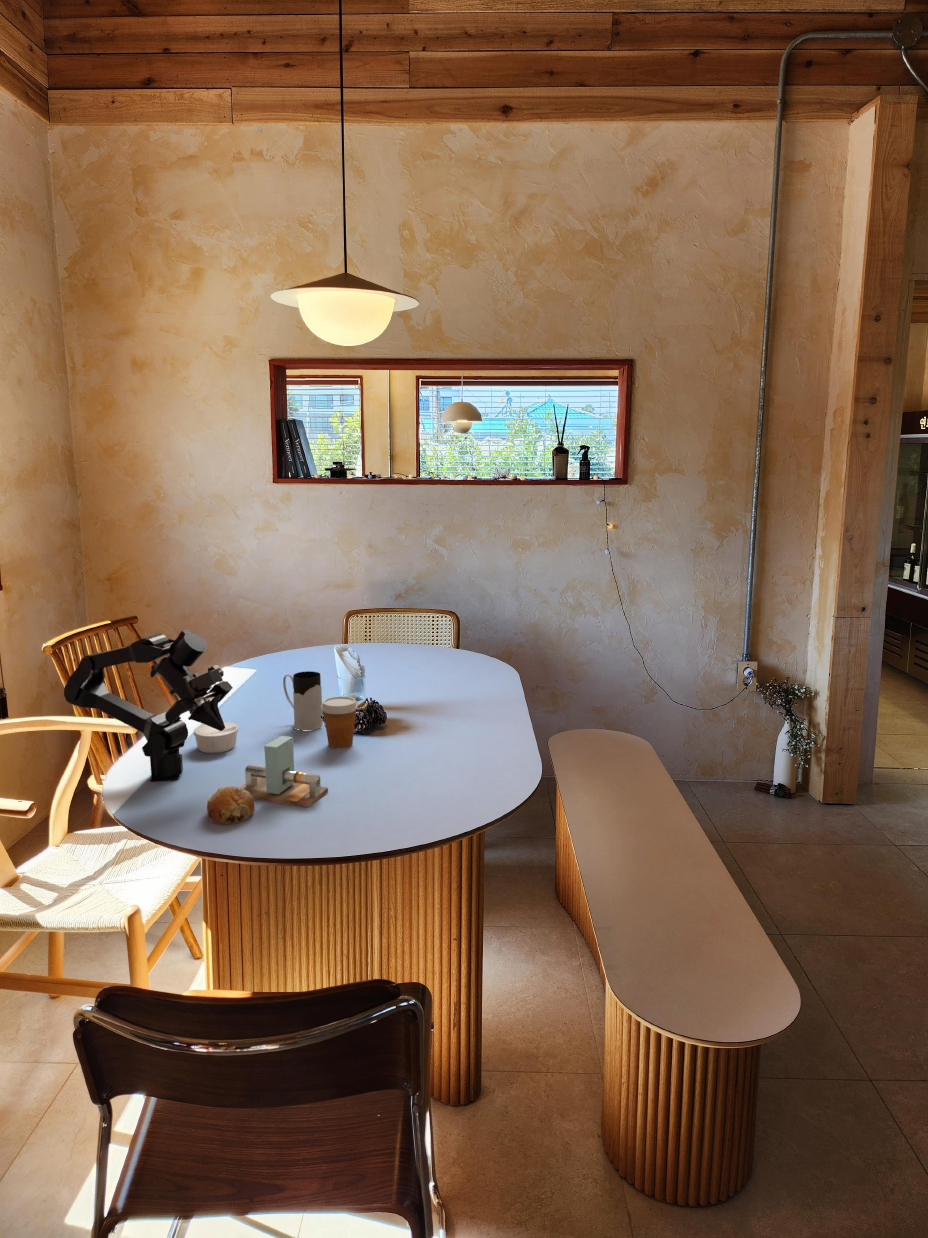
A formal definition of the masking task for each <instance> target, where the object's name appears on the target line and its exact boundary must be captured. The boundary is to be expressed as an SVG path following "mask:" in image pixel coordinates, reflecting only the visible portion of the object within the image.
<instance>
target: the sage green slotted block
mask: <svg viewBox="0 0 928 1238" xmlns="http://www.w3.org/2000/svg"><path fill="white" fill-rule="evenodd" d="M294 754H295V753H294V738H293V736H288V735H287V736H286V735H280V736H279V737H276V738H275V739H274V740H272V741H270V742H269V743H267V744H264V759H265V760H264V763H265V767H266V786H267V793H273V794H280V793H281V792H282V791H284V790H285V789H287V788H288V787H289V786H291V785H292V784H294V782H287V781H283V779H282V772H283V771H284V770H287V771H294V772H295V759H294V756H295V755H294Z"/></svg>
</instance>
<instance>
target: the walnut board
mask: <svg viewBox="0 0 928 1238" xmlns="http://www.w3.org/2000/svg"><path fill="white" fill-rule="evenodd" d="M239 788H242V789H245V790H246V791H248V792H249V793H250V794H251V795H252V797H253V799H254V800H258V801H259V800H261V801H265V802H272V803H278V804H285V805H291V806H296V807H304V808H310V807H311V806H312V805H314V804H315V803H316V802H317V801H318V800H320V799H321V798H322V797H323V796H325V795H326V794H327V793H328V792H329V787H326V786H321V793H320V794H319V795H318V796H317V797H310V794H309V785H307V784H298V783H294V784H292V785H291V786H289V787H288V788H287V789H285V790H284V791H282V792H281V793H280V794H273V793H267V786H266V778H260V777H257V784H256V785H254V786H253V787H246V783H245V784H243V785H241V786H240V787H239Z"/></svg>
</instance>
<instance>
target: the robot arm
mask: <svg viewBox="0 0 928 1238" xmlns="http://www.w3.org/2000/svg"><path fill="white" fill-rule="evenodd" d="M207 649H208V643H207V641H206V640H205V639H204V638H203V637H202V636H200V635H198V634H197V633H193V632H190V630H189V629H188V628H186V629H183V630H181V631H180V632H179V633H178V635H177V637H176V639H173V638H168V637H167V636H166V635H165V634H164V633H156V634H152V635H149V636H145V637H142V638H140V639H137V640H136V641H134V642H132V643H130V644H128V645H126V646H123V647H119V648H114V649H111V650H106V651H101V652H98V651H97V652H93V653H91V654H87V655H85V656H83V657H82V658H81V659H80V660H79V661H80V662H79V663H78V665H77V667H76V669H74V671H73V672H72V673H71V674H70V676H69V678H68V680H67V683H66V684H65V685H64V689H63V696H64V698H65V701H66V702H67V703H68V704H69V705H72V706H76V707H78V708H84V709H85V708H86V709H95V710H98V711H99V712H102V713H104V714H105V715H107V716H110V717H111V718H113V719H115V720H116V721H119V722H121V723H122V724H125V725H126V726H128V727H131V728H132V729H134V730H137V731H138V732H141V733H142V734H143V736H144V737H145V738H144V739H145V740H146V742H145V744H144V745H143V746H142V747H141V750H142V753H143V755H144V756H145V757H148V758H149V761H150V763H149V764H150V775H151V776H150V778H149V782H157V781H159V782H160V781H161V782H162V781H172V780H179V779H180V776H181V775H182V773H183V770H184V767H183V766H184V765H183V763H184V762H183V755H182V754H181V753H180V749H181V748H183V747H184V746H185V743H186V740H187V739H188V736H189V729H188V727H187V724H186V722H185V721H183V720H181V719H182V717H181V715H183V714H185V713H187V712H189V716H188V718H187V719H188V720H189V721H194V722H197V723H201V724H202V725H203V724H205V725H208V726H210V727H212V728H215V729H217V730H219V731H223V730H224V729H225V725H224V722H225V721H224V720H223V717H222V714H221V712H220V708H219V703H220V702H222V701H223V699H224V698H225V697H226V696H227V695H228V694H229V693H230V692H231V691H232V690H233V686H232V685H231V683H229V681H226V680H223V677H224V670H222V668H221V667H220V666H219V665H218V664H214V665H212V666H209V667H208V668H207V672H205V673H203V674H201V675H200V673H199V672H197V671H195V672H192V671H191V670H190V669H189V668H190V667H192V666H193V665H194V664H195V663H196V662H197V661H198V660H199V659H200V657H202V655H203V654H204V653H205V652H206V651H207ZM158 660H159V662H158V663H155V664H152V665H151V666H150V675H149V676H150V678H152V679H153V678H155V677H157V676H160V677H161V678H162V679H163V681H164V682H165V683H166V684H167V685H168V687H169V688H170V689H171V690H170V691H169V694H170V696H175V695H176V696H177V697H178V698H179V700H176V701H175V702H174V703H173V704H172V705H171V707H170V708H169V709H168V710H167V711H164V712H161V713H160V714H158V715H156V714H154V713H151V712H150V711H147V710H145V709H143V708H141V707H140V706H138V705H136V704H134V703H131V702H130V701H128V700H127V699H124V698H122V697H119V696H118V695H116V694H114V693H112V692H110V691H109V689H108V687H107V685H106V684H105V682H104V681H105V679H106V673H105V668H109V667H113V666H117V665H121V664H126V663H132V662H133V663H136V664H140V663H141V664H143V663H145V664H146V663H152V662H154V661H158Z"/></svg>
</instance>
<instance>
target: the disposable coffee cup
mask: <svg viewBox="0 0 928 1238" xmlns="http://www.w3.org/2000/svg"><path fill="white" fill-rule="evenodd" d="M321 709H322V714H323V718H324V719H323V720H324V727H325V730H326V737H327V743H328V744H327V745H328V746H329V747H330V748H331V749H337V750H338V749H339V750H340V749H347V748H351V747H352V746H353V741H354V735H355V733H354V731H355V723H356V712H357V709H358V703H357V700H356V699H355V698H353V697H351V696H350V697H349V696H333V697H328V698H326V699H323V700H322V706H321Z"/></svg>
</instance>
